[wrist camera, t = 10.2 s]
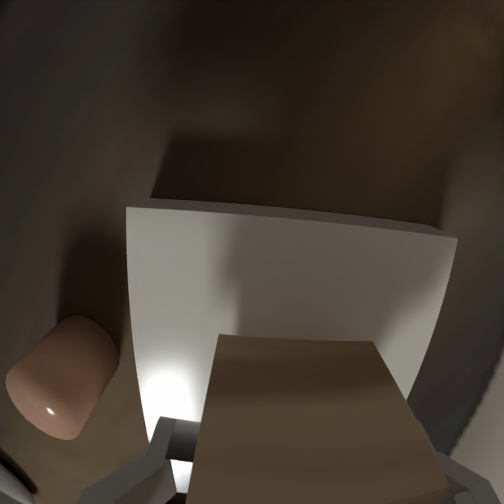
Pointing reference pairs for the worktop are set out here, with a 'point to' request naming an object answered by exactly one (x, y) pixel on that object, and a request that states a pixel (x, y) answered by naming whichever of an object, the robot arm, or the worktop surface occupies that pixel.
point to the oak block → (308, 428)
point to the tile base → (273, 289)
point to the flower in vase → (14, 487)
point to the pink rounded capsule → (64, 376)
